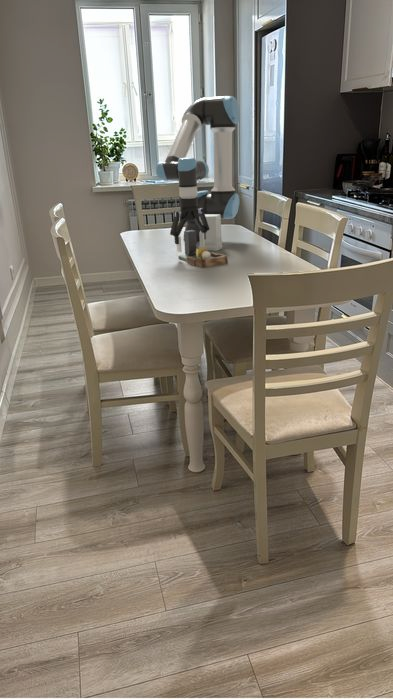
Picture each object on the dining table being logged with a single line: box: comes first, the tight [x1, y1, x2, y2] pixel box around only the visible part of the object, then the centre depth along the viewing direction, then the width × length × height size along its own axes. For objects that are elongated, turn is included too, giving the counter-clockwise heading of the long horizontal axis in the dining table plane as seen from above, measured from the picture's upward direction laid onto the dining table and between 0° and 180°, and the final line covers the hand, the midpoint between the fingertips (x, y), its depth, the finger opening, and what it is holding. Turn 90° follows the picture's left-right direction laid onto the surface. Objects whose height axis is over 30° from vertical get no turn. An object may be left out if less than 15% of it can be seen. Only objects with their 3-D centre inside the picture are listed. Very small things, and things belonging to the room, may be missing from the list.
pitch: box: [177, 252, 229, 269], centre depth 219 cm, size 13×21×3 cm, turn 33°
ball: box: [202, 250, 211, 259], centre depth 216 cm, size 4×4×4 cm
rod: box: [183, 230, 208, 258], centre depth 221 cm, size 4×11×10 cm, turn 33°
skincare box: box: [199, 214, 223, 252], centre depth 237 cm, size 8×7×16 cm
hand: (190, 249), depth 225 cm, fingers open, 11 cm apart
